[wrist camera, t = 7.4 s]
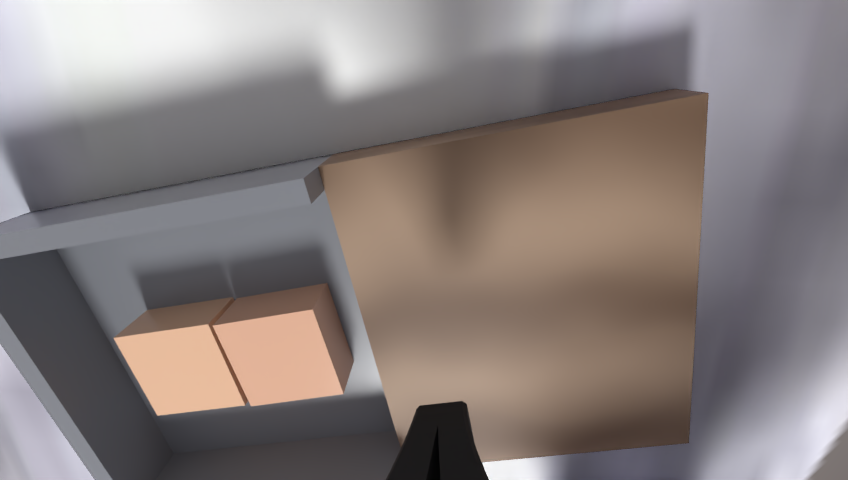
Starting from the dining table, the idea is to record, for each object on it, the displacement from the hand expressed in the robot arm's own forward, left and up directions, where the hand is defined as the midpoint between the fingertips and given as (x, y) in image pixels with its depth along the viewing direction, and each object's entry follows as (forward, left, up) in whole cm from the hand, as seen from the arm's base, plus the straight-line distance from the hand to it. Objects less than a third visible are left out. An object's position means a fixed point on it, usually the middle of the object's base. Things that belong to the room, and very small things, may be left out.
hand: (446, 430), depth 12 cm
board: (0, -3, -7) cm, 7 cm away
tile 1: (0, +7, -6) cm, 9 cm away
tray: (0, +10, -7) cm, 12 cm away
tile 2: (0, +11, -6) cm, 12 cm away
